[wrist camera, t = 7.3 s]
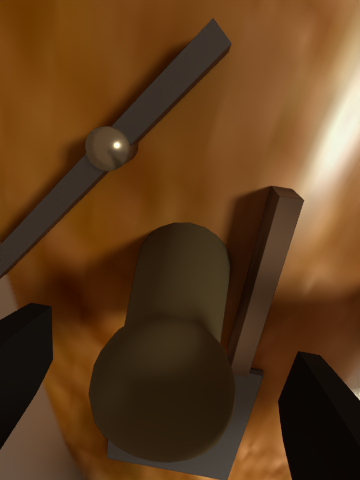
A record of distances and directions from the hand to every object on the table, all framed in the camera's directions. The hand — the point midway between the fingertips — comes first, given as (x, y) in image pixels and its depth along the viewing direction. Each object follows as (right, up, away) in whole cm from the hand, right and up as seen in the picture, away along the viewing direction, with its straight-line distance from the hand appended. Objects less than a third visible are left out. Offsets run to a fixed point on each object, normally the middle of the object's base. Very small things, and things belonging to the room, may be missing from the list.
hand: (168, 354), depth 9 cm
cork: (+1, +2, +11) cm, 11 cm away
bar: (-5, +7, +8) cm, 12 cm away
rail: (+5, +1, +10) cm, 12 cm away
